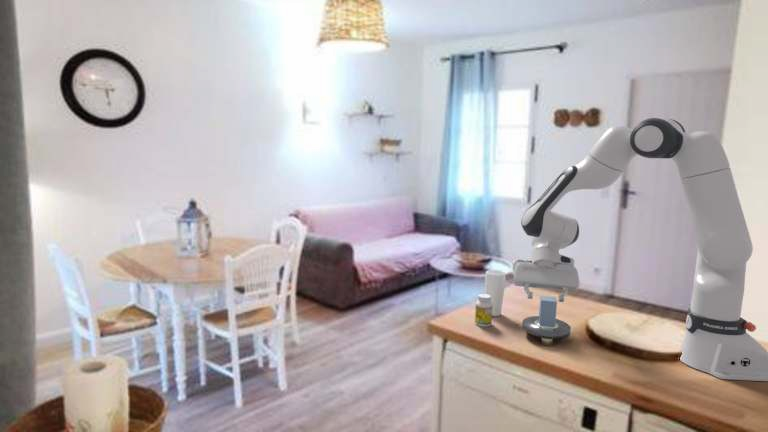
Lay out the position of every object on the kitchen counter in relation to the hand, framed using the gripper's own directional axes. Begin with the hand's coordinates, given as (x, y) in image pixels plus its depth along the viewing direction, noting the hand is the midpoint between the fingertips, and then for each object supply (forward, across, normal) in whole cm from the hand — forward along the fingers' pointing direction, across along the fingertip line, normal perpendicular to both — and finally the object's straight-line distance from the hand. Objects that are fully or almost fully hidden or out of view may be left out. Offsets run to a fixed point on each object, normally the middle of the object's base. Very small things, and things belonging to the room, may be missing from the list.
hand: (545, 299), depth 146 cm
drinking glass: (+1, -16, +14) cm, 21 cm away
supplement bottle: (+8, -19, +7) cm, 21 cm away
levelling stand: (+11, 0, +3) cm, 12 cm away
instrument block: (+8, 0, 0) cm, 8 cm away
